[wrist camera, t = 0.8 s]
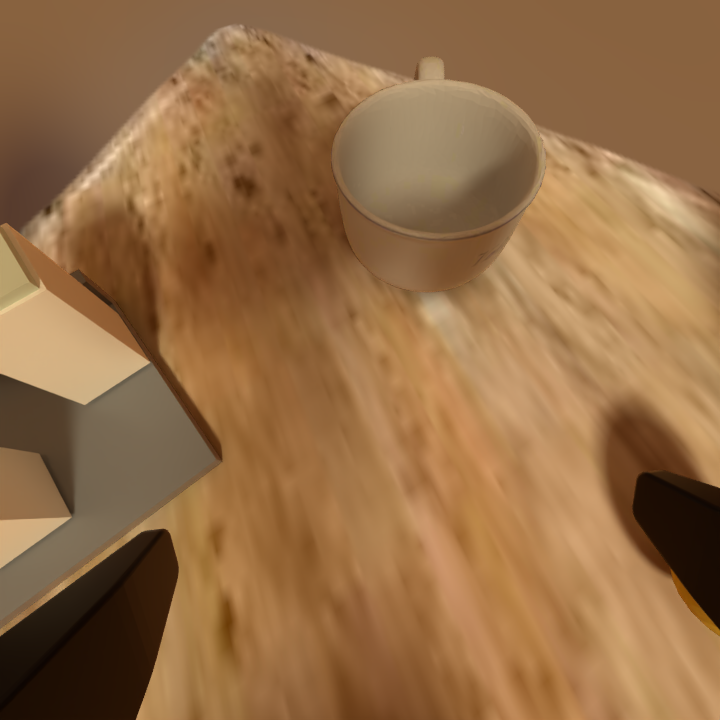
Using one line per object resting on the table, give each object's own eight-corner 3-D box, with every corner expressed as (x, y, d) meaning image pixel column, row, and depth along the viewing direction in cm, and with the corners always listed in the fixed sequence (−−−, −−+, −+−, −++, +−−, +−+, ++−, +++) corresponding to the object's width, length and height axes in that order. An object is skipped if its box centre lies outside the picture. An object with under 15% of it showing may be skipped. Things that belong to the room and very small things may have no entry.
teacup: (484, 329, 25) (542, 252, 17) (320, 296, 25) (306, 208, 18) (503, 168, 30) (554, 53, 22) (364, 143, 30) (368, 24, 23)
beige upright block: (150, 362, 22) (37, 282, 14) (84, 405, 21) (-77, 345, 13) (118, 313, 23) (-5, 214, 15) (54, 352, 22) (-112, 267, 14)
